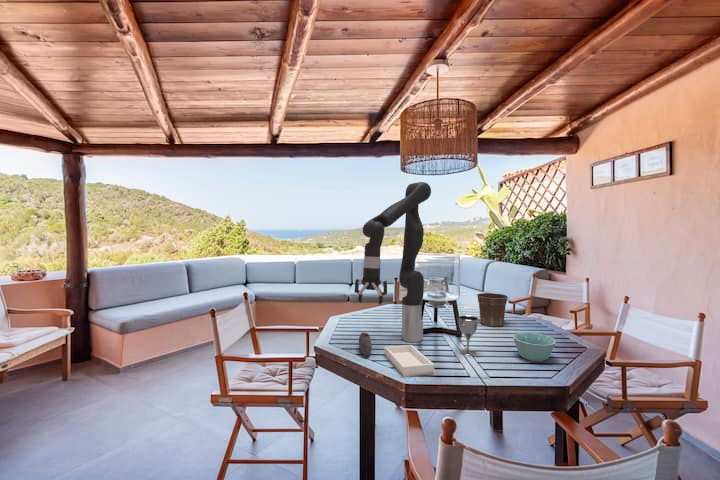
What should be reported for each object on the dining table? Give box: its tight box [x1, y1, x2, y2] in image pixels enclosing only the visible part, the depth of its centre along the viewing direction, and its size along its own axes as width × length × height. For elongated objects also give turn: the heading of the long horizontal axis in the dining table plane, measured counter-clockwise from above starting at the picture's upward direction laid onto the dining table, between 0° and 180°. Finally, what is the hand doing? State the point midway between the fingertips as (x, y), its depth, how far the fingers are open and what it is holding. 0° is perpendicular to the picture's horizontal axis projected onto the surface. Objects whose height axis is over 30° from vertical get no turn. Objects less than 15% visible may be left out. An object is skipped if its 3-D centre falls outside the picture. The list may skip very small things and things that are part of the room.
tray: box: [384, 344, 435, 378], centre depth 137 cm, size 12×22×4 cm, turn 14°
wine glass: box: [458, 315, 479, 356], centre depth 150 cm, size 8×8×15 cm
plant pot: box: [476, 292, 509, 328], centre depth 195 cm, size 16×16×16 cm
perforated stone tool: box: [358, 332, 373, 357], centre depth 150 cm, size 15×5×7 cm, turn 3°
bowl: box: [512, 332, 557, 363], centre depth 144 cm, size 16×16×8 cm
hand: (370, 303), depth 154 cm, fingers open, 8 cm apart
